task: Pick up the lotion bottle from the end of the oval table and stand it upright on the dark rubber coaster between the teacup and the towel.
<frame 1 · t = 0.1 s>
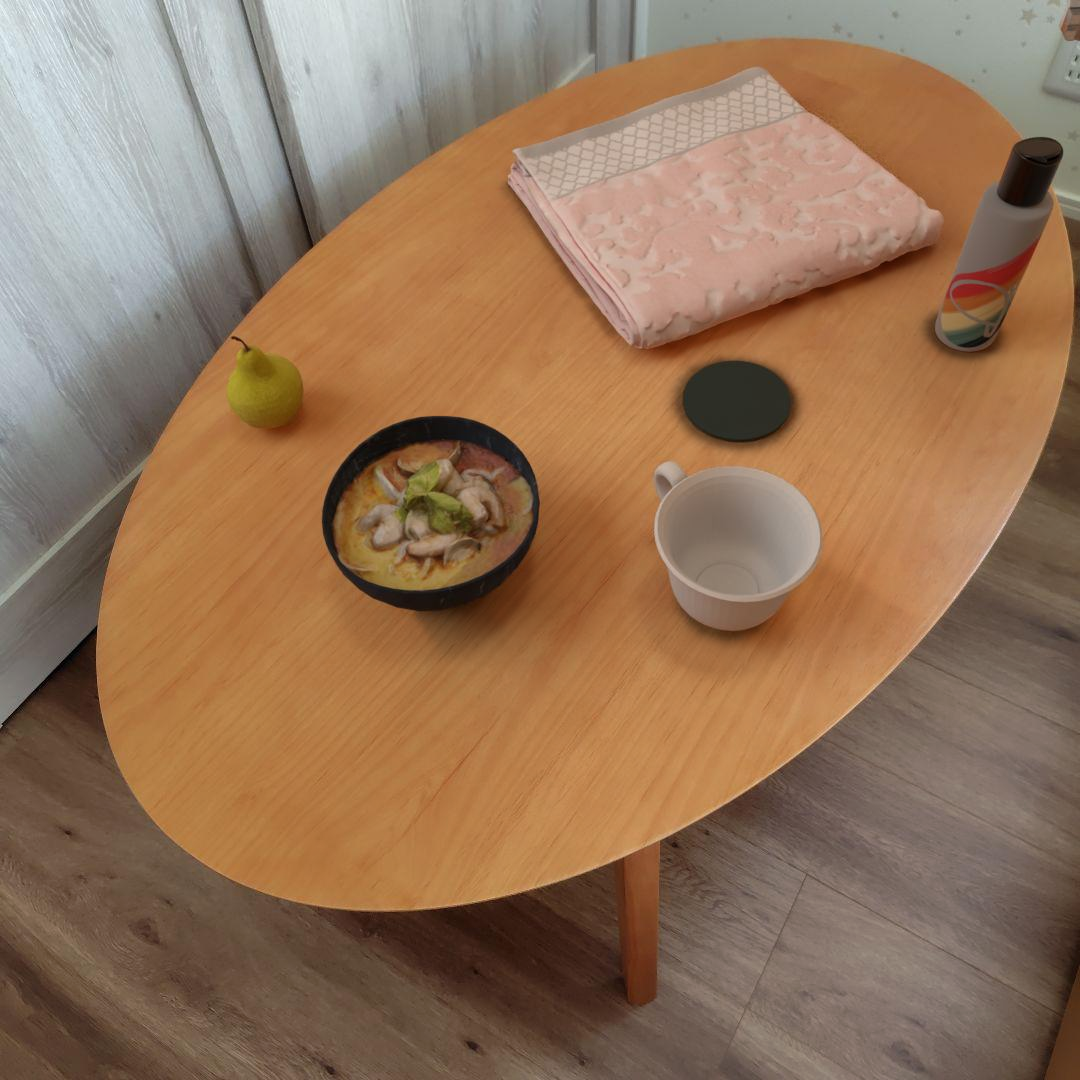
teacup: (712, 589, 77), on the table
coaster: (736, 401, 88), on the table
towel: (708, 219, 104), on the table
lotion bottle: (963, 334, 92), on the table
bowl: (446, 563, 80), on the table
fruit: (278, 417, 91), on the table
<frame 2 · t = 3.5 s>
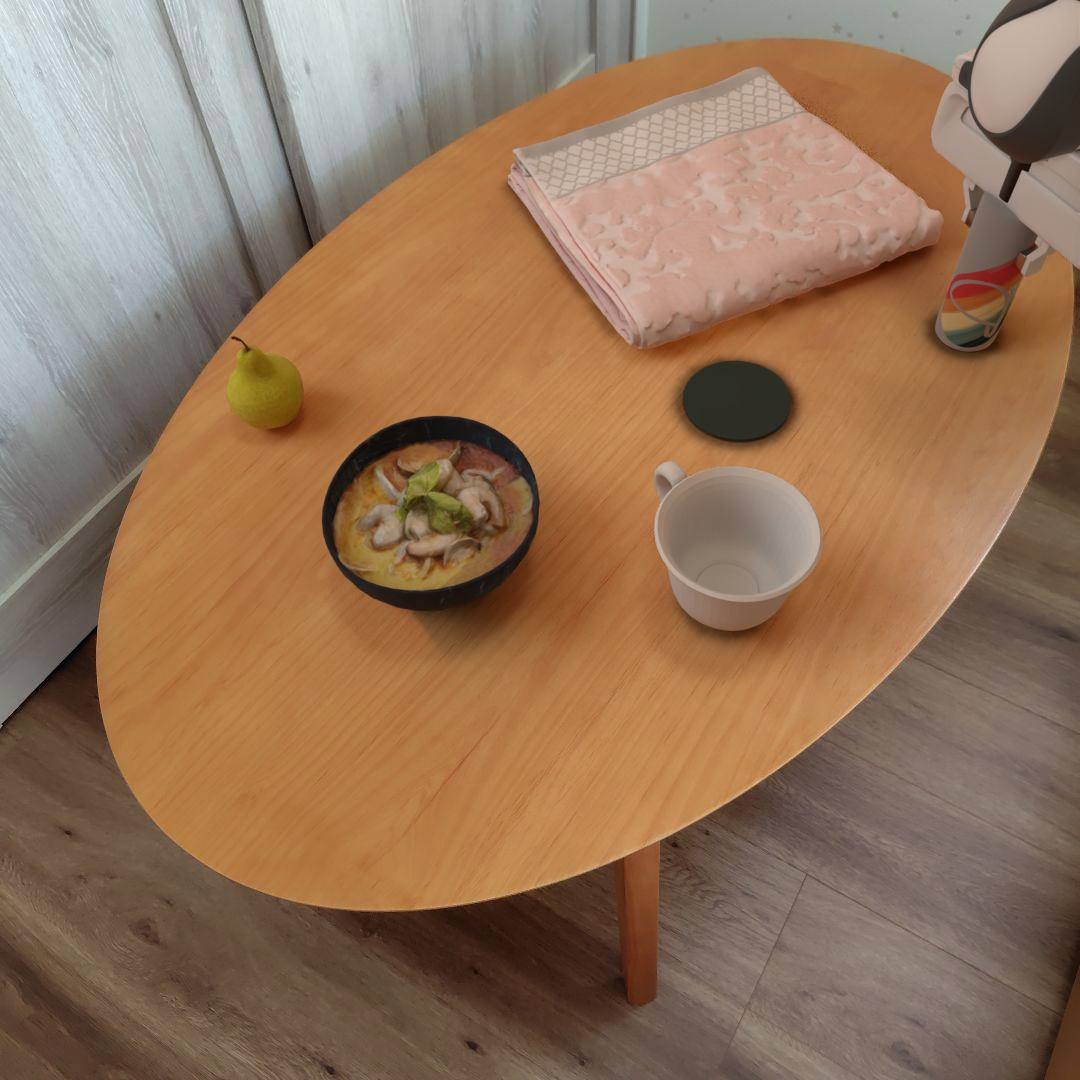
hand: (998, 246, 83), 10 cm above the table, tool pointing down, fingers closed on lotion bottle, 6 cm apart
lotion bottle: (963, 334, 92), on the table, touching gripper
everything else where it was.
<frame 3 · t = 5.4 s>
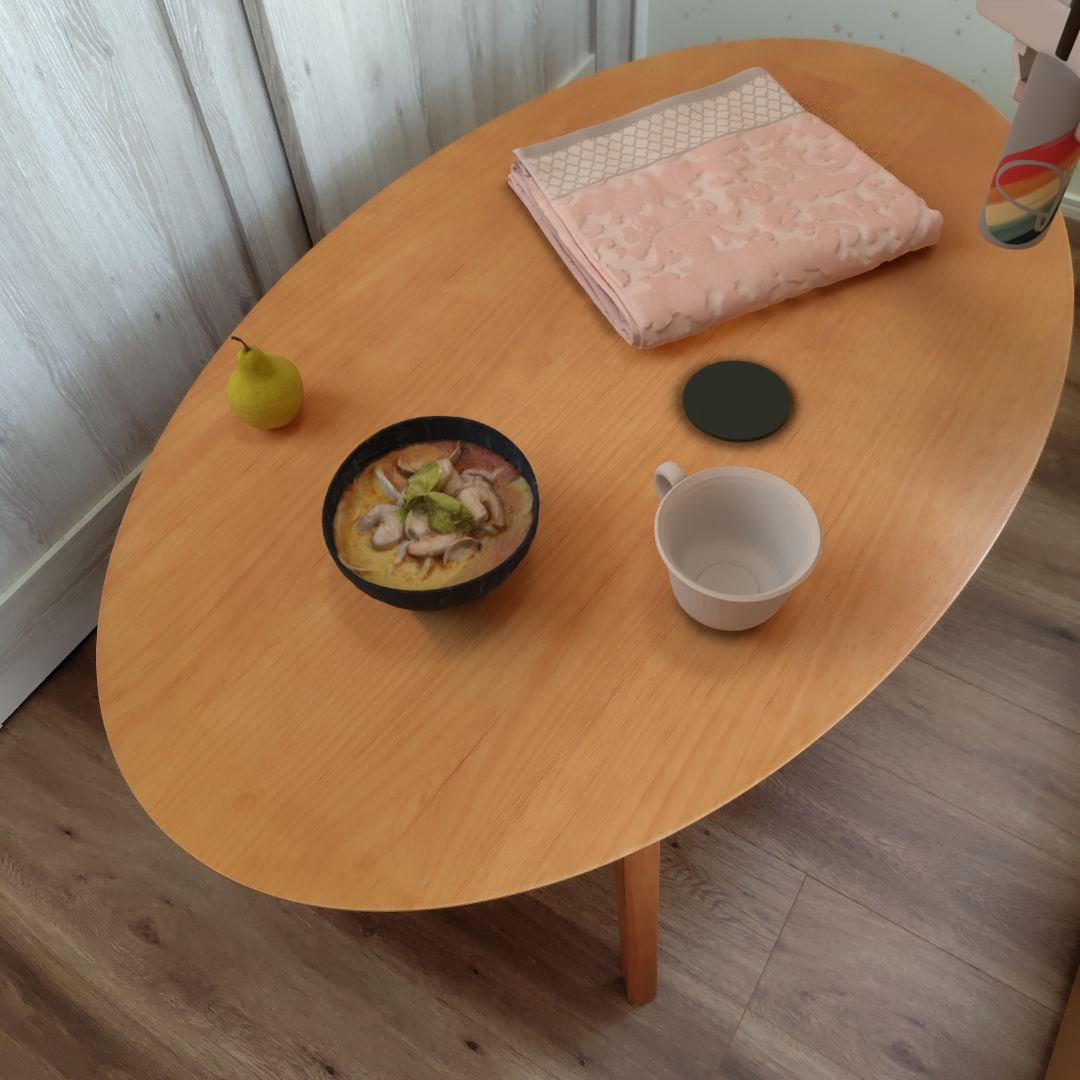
hand: (1053, 120, 73), 22 cm above the table, tool pointing down, fingers closed on lotion bottle, 6 cm apart
lotion bottle: (1009, 232, 82), point 12 cm above the table, touching gripper
everything else where it was.
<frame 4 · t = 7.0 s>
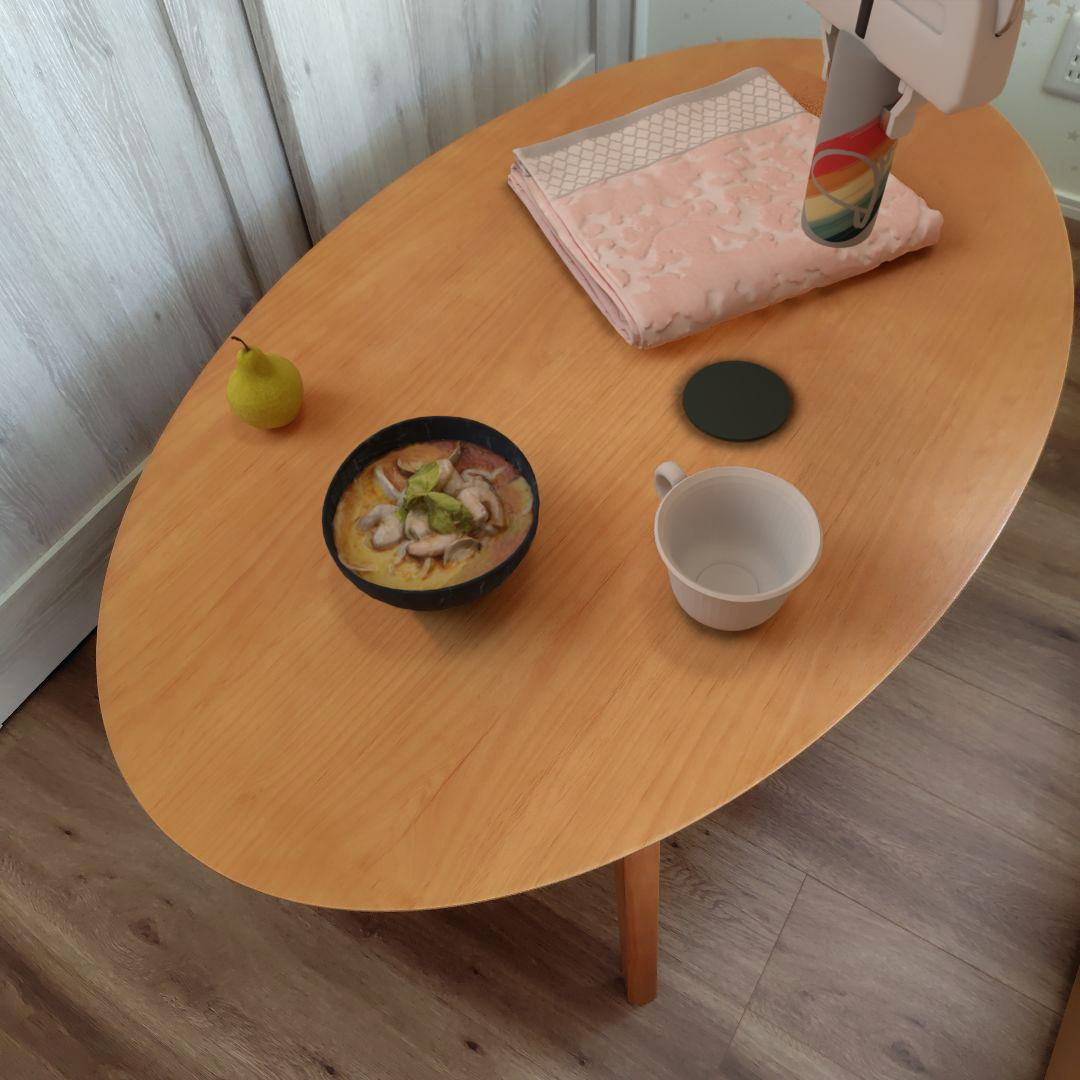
hand: (863, 106, 67), 27 cm above the table, tool pointing down, fingers closed on lotion bottle, 6 cm apart
lotion bottle: (835, 228, 75), point 17 cm above the table, touching gripper
everything else where it was.
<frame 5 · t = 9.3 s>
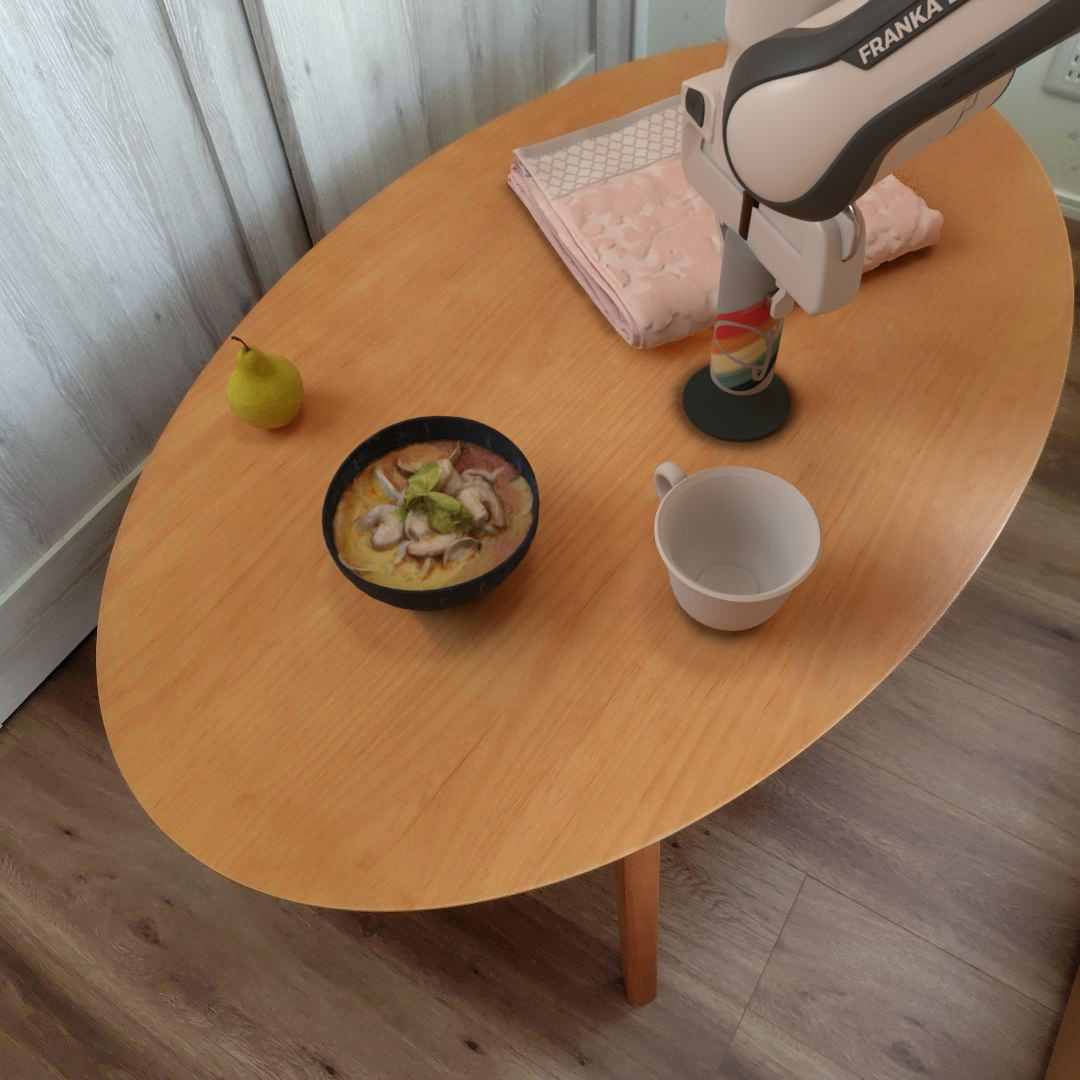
hand: (754, 285, 77), 14 cm above the table, tool pointing down, fingers closed on lotion bottle, 5 cm apart
lotion bottle: (740, 375, 85), point 4 cm above the table, touching gripper
everything else where it was.
when the fingers open (11 cm above the table, at t = 10.8 s): lotion bottle stays where it is, resting on coaster.
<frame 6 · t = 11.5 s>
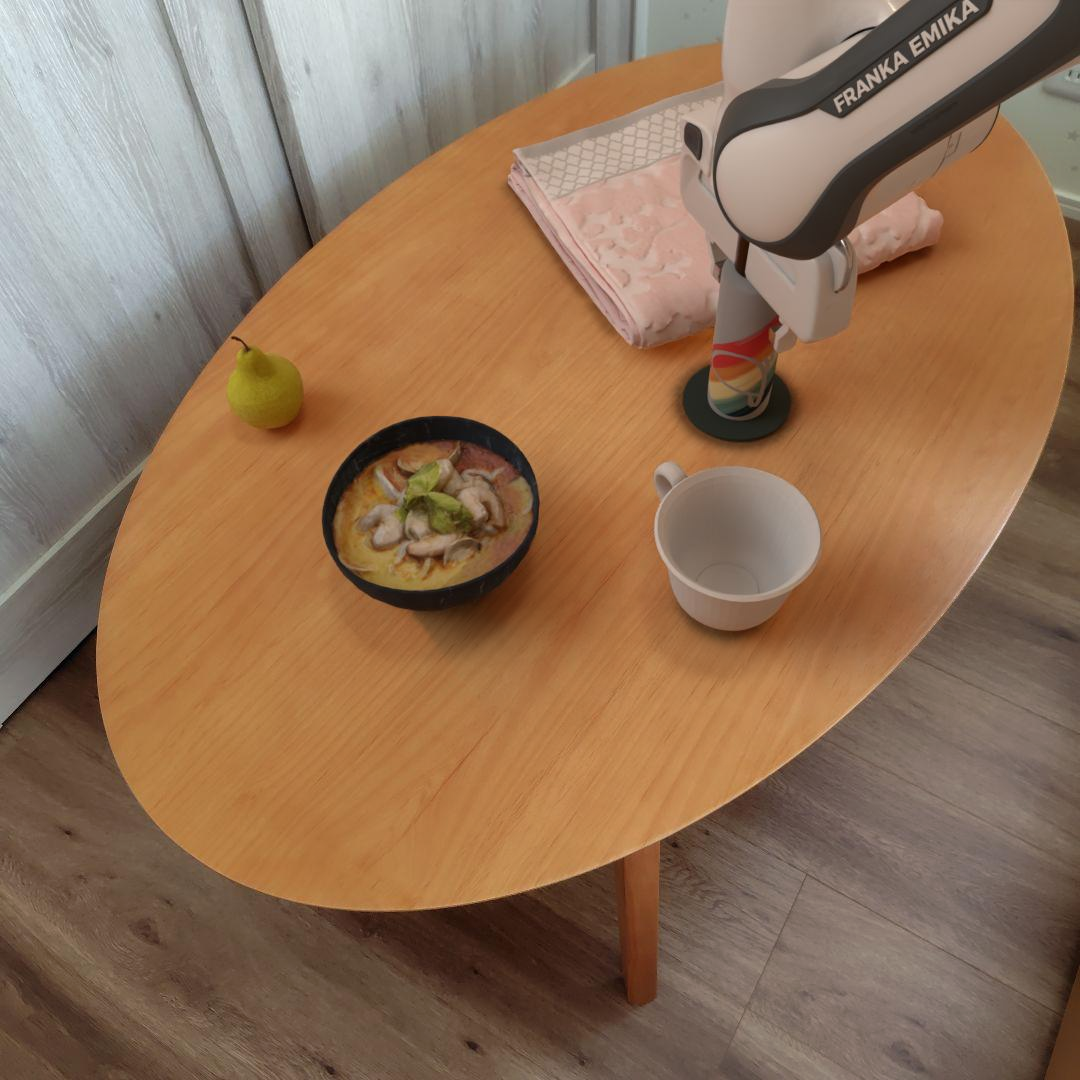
hand: (750, 310, 79), 11 cm above the table, tool pointing down, fingers open, 8 cm apart
lotion bottle: (737, 401, 88), resting on coaster
everything else where it was.
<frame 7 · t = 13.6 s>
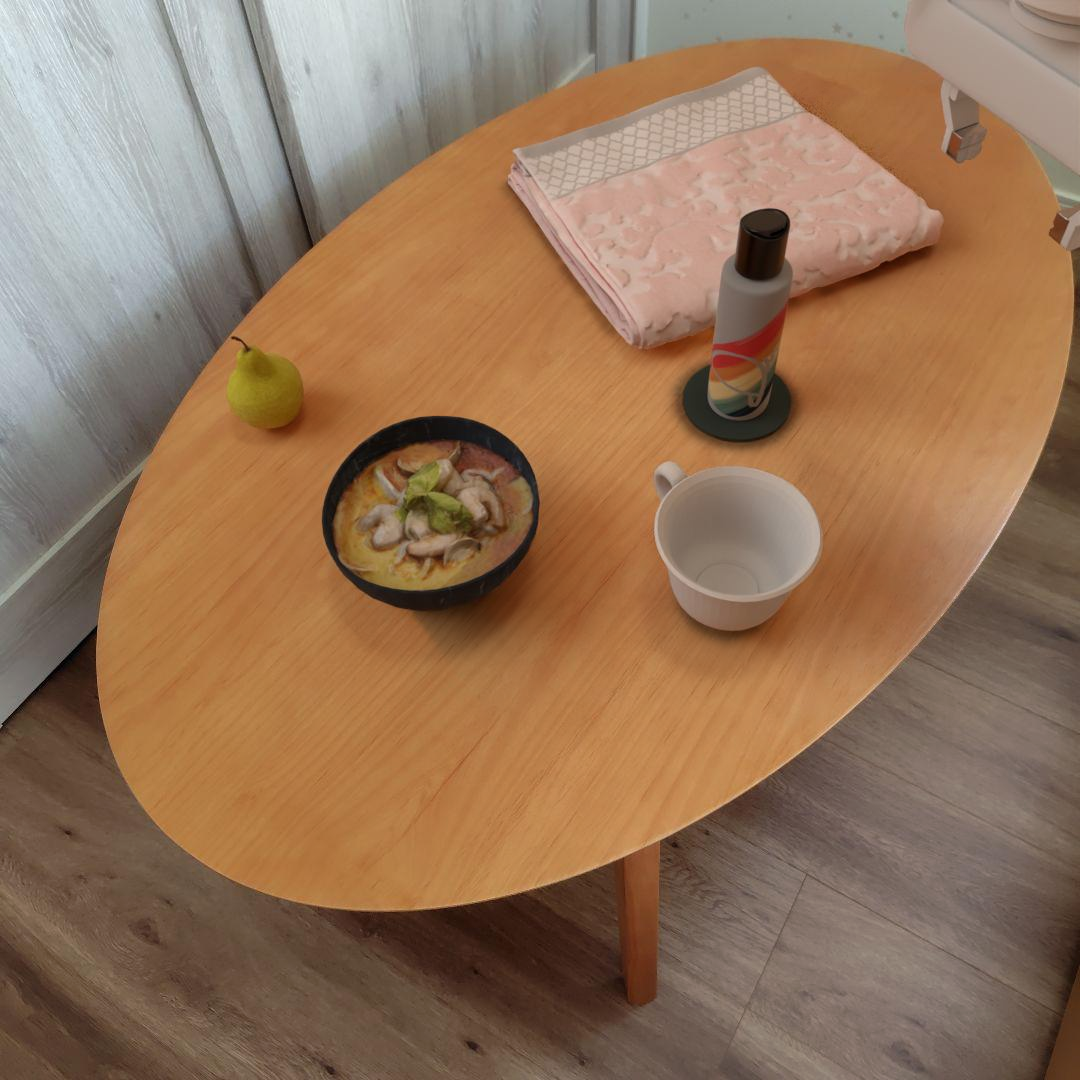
hand: (1011, 196, 55), 31 cm above the table, tool pointing down, fingers open, 8 cm apart
nothing on the table moved.
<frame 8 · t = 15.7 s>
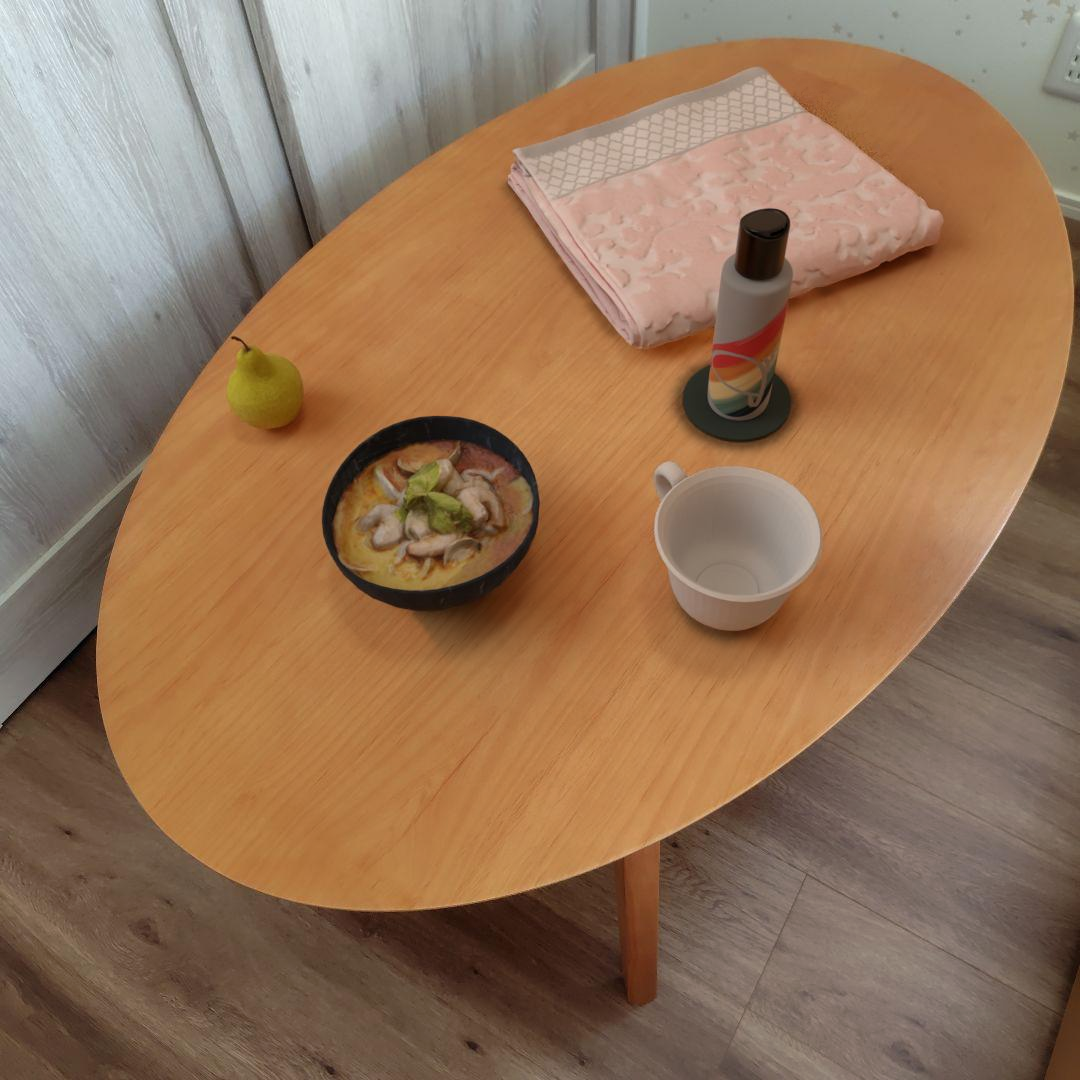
nothing on the table moved.
at the end: lotion bottle inside the target area on the table beside the teacup (0.2 cm from its centre), resting on coaster; lotion bottle 27.5 cm from the towel (horizontally); lotion bottle tilted 0° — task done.
